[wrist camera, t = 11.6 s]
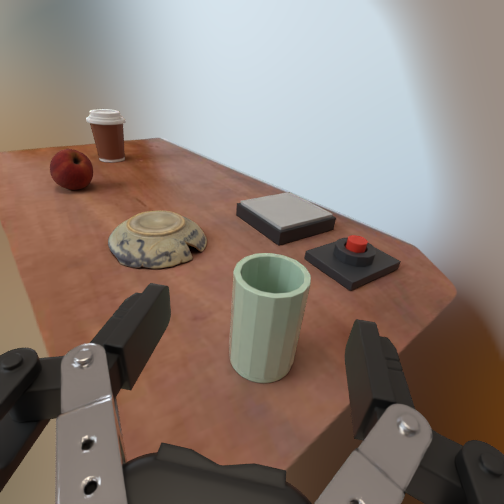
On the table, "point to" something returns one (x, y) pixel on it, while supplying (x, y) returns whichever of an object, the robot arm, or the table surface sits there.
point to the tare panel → (351, 263)
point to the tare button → (356, 244)
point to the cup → (266, 315)
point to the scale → (285, 217)
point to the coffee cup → (108, 134)
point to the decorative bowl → (156, 240)
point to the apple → (71, 169)
